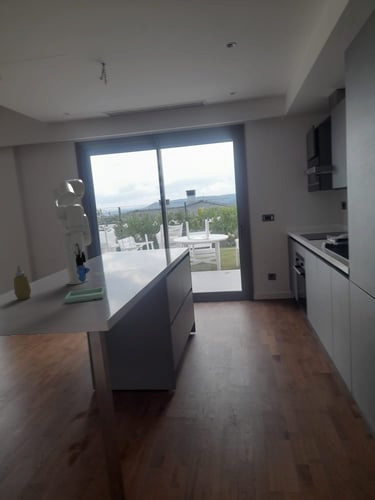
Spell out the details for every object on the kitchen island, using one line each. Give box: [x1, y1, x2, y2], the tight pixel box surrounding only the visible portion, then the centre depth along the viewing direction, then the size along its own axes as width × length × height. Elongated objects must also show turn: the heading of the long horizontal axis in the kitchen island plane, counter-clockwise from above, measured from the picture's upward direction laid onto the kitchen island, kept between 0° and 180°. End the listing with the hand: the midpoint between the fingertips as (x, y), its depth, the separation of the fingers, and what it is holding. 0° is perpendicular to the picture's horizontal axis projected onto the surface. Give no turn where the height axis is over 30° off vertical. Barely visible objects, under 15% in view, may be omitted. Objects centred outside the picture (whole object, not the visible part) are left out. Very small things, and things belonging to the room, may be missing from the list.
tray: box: [64, 286, 106, 304], centre depth 170 cm, size 14×18×2 cm
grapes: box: [76, 262, 91, 283], centre depth 169 cm, size 12×7×12 cm, turn 12°
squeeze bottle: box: [13, 265, 32, 301], centre depth 179 cm, size 8×8×18 cm
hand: (81, 263), depth 167 cm, fingers closed on grapes, 8 cm apart
